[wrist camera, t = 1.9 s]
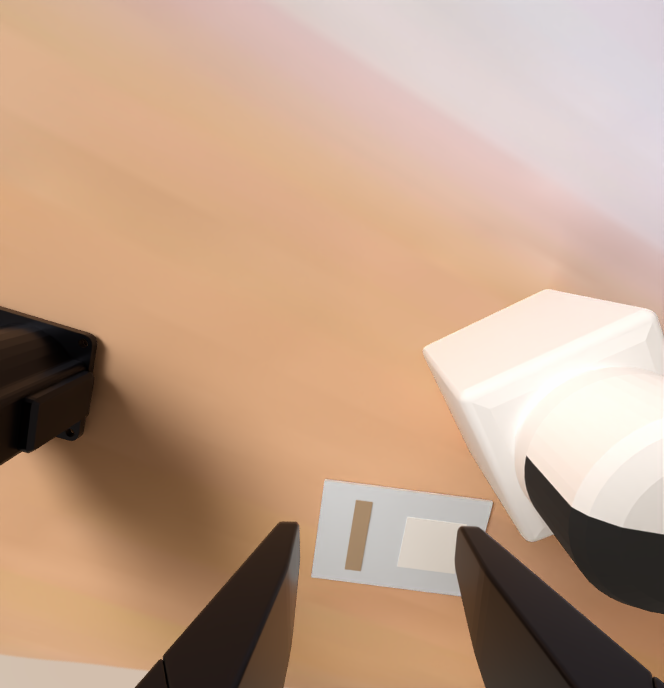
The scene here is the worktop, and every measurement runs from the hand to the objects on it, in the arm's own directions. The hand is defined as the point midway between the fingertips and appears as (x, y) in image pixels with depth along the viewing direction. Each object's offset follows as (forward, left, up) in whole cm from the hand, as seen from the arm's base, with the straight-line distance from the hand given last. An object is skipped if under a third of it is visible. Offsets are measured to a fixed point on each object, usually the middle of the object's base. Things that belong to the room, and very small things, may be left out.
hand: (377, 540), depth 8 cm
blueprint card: (+6, -10, -13) cm, 17 cm away
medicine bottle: (+8, +2, -13) cm, 15 cm away
